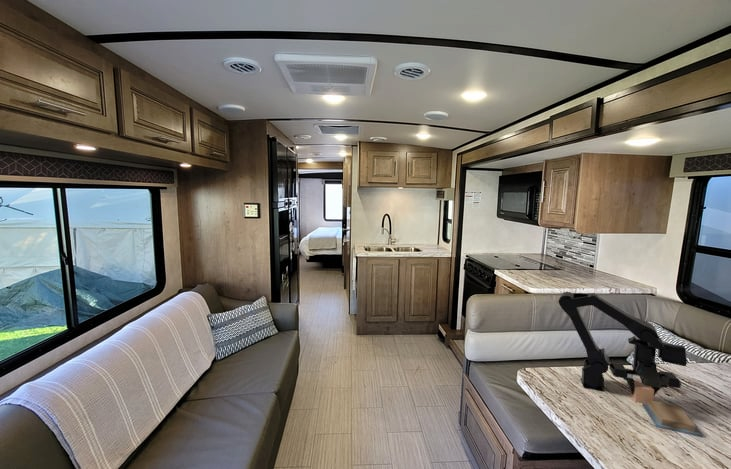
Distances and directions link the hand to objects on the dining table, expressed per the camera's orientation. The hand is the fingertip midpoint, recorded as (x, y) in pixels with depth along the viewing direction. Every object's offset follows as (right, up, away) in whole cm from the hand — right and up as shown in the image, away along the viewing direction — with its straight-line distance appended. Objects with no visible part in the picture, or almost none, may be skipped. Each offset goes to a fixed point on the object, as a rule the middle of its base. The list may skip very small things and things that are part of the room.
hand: (641, 395), depth 110 cm
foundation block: (0, -3, -10) cm, 11 cm away
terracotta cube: (0, -2, 0) cm, 2 cm away
